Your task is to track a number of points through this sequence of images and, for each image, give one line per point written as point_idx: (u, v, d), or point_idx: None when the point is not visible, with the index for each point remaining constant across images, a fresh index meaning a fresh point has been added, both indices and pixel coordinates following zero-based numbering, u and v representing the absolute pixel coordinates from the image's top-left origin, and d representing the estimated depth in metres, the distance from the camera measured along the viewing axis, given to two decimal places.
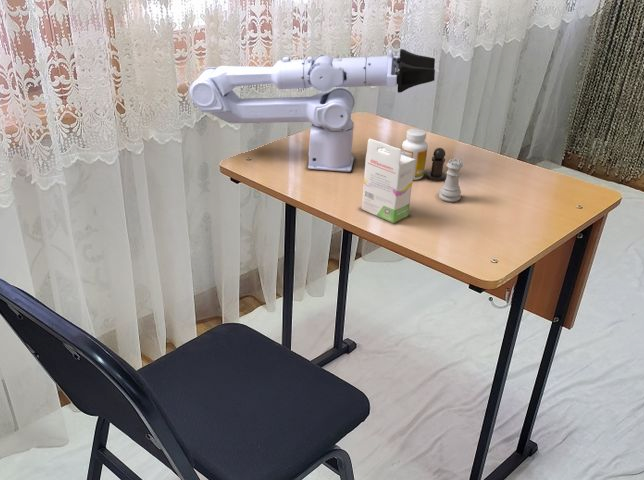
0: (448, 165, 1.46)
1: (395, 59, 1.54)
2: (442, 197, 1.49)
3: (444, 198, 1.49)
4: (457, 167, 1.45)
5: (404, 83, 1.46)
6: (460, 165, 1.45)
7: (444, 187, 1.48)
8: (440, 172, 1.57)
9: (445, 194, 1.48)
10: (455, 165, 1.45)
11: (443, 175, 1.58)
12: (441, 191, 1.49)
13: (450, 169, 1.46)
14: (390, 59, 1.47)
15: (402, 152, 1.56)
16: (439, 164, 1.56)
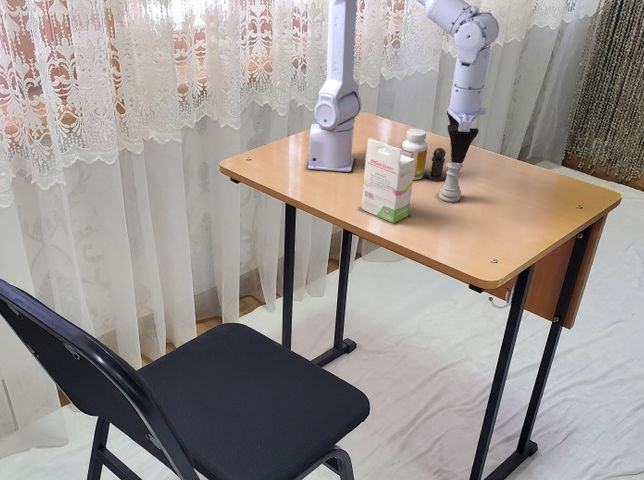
0: (448, 165, 1.46)
1: None
2: (442, 197, 1.49)
3: (444, 198, 1.49)
4: (457, 167, 1.45)
5: (455, 134, 1.38)
6: (460, 165, 1.45)
7: (444, 187, 1.48)
8: (440, 172, 1.57)
9: (445, 194, 1.48)
10: (455, 165, 1.45)
11: (443, 175, 1.58)
12: (441, 191, 1.49)
13: (450, 169, 1.46)
14: (478, 114, 1.38)
15: (402, 152, 1.56)
16: (439, 164, 1.56)
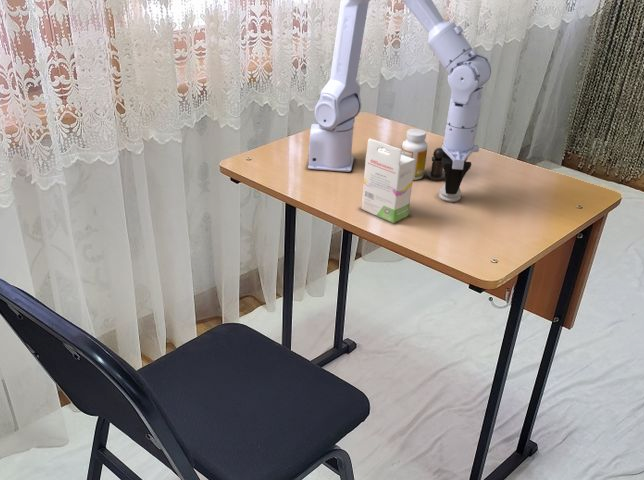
0: None
1: None
2: (442, 197, 1.49)
3: (444, 198, 1.49)
4: None
5: (449, 167, 1.43)
6: None
7: (444, 187, 1.48)
8: (440, 172, 1.57)
9: (445, 194, 1.48)
10: None
11: (443, 175, 1.58)
12: (441, 191, 1.49)
13: None
14: (472, 151, 1.42)
15: (402, 152, 1.56)
16: (439, 164, 1.56)
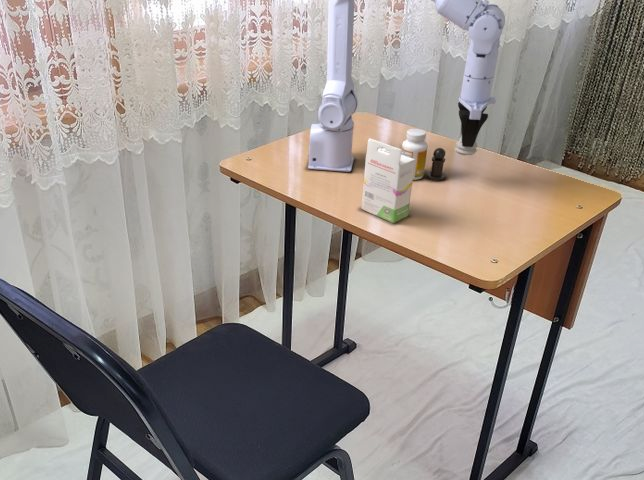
0: None
1: None
2: (458, 150, 1.51)
3: (460, 151, 1.50)
4: None
5: (466, 119, 1.45)
6: None
7: (460, 140, 1.50)
8: (440, 172, 1.57)
9: (461, 147, 1.50)
10: None
11: (443, 175, 1.58)
12: (457, 144, 1.51)
13: None
14: (488, 103, 1.44)
15: (402, 152, 1.56)
16: (439, 164, 1.56)
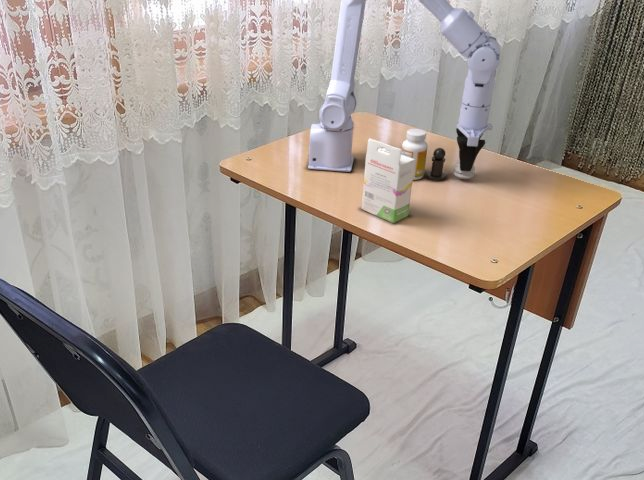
0: None
1: None
2: (457, 174, 1.56)
3: (459, 175, 1.56)
4: None
5: (464, 145, 1.50)
6: None
7: (459, 164, 1.55)
8: (440, 172, 1.57)
9: (460, 171, 1.55)
10: None
11: (443, 175, 1.58)
12: (456, 168, 1.56)
13: None
14: (485, 129, 1.49)
15: (402, 152, 1.56)
16: (439, 164, 1.56)
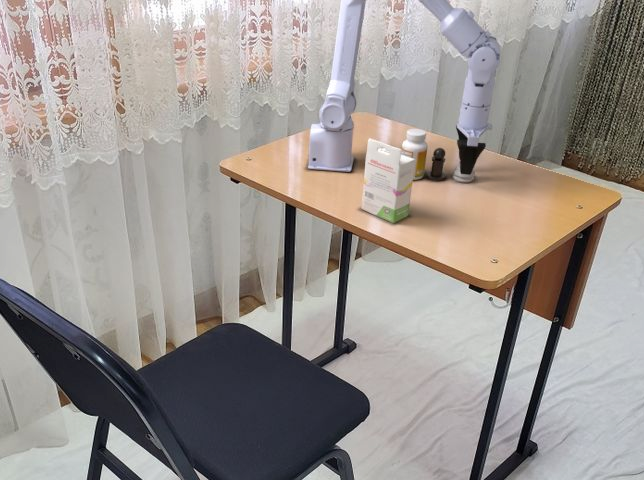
0: None
1: None
2: (456, 178, 1.57)
3: (458, 179, 1.56)
4: None
5: (464, 148, 1.49)
6: None
7: (458, 168, 1.56)
8: (440, 172, 1.57)
9: (459, 175, 1.56)
10: None
11: (443, 175, 1.58)
12: (455, 172, 1.56)
13: None
14: (485, 129, 1.49)
15: (402, 152, 1.56)
16: (439, 164, 1.56)
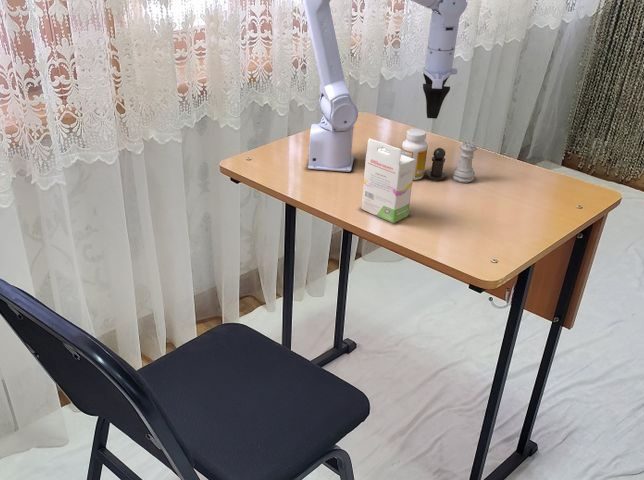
0: (462, 147, 1.53)
1: None
2: (456, 178, 1.57)
3: (458, 179, 1.56)
4: (471, 149, 1.52)
5: (430, 91, 1.54)
6: (474, 147, 1.52)
7: (458, 168, 1.56)
8: (440, 172, 1.57)
9: (459, 175, 1.56)
10: (469, 147, 1.52)
11: (443, 175, 1.58)
12: (455, 172, 1.56)
13: (464, 151, 1.53)
14: (450, 73, 1.54)
15: (402, 152, 1.56)
16: (439, 164, 1.56)
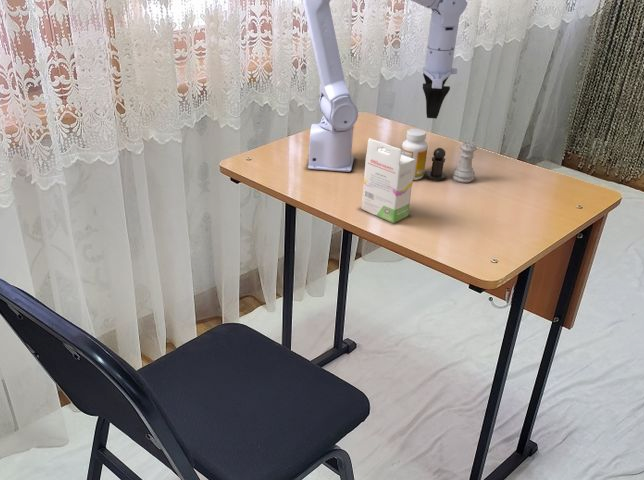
0: (462, 147, 1.53)
1: None
2: (456, 178, 1.57)
3: (458, 179, 1.56)
4: (471, 149, 1.52)
5: (430, 91, 1.54)
6: (474, 147, 1.52)
7: (458, 168, 1.56)
8: (440, 172, 1.57)
9: (459, 175, 1.56)
10: (469, 147, 1.52)
11: (443, 175, 1.58)
12: (455, 172, 1.56)
13: (464, 151, 1.53)
14: (450, 73, 1.54)
15: (402, 152, 1.56)
16: (439, 164, 1.56)
